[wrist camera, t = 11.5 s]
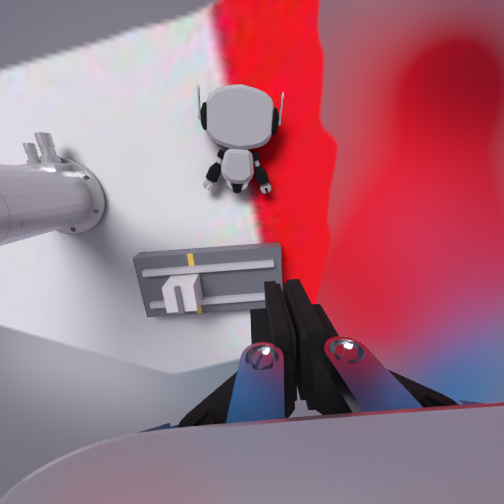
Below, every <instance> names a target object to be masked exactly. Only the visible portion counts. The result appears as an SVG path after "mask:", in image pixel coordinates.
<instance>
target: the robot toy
mask: <svg viewBox="0 0 504 504" xmlns="http://www.w3.org/2000/svg"><path fill="white" fill-rule="evenodd" d="M197 92H198V106H199V114H198V118H199V119H201V124H202V127H203V129H204V130H206V131H207V133H208V135H209V138H211V139H212V140H213V141H214V142H215V143H217V144H219V145H222V146H224V147H227V148H231V149H228V150H227V151H226V152H225V151H223V150H221V149H220V150H219V152H218V154H217V156H218V157H219V158H218V160H217V162H216V163H214V164H213V165H212V166H211V167H210V168H209V171H208V173H207V175H206V178H207V179H206V180H205V181H204V182H203V186H204V188H206V187H207V184H209V185H210V186H209V188H208V189H207V190H212V189H213V188H214V182H217V180H218V178H219V176H220V174H221V163H222V161H223V163H222V175H223V177H224V178H225V180H226V182H227V185H228V187H229V188H231V189H233V191H234V192H235V193H240V192H241V184H243V187H242V190H243V189H245V188H247V185H248V183H249V181H250V180H251V179H252V177H253V174H254V165H253V162H254V164H255V177H256V180H257V182H258V185H261V188H260V190H261V192H262V193H264V194H266V191H265V188H267V189H268V192H270V191H271V185H270V184H269V183H268V182H269V179H268V176H267V173H266V170H265V169H264V168H263V167H262V166H260V164H259V161H258V160H259V158H260V157H259V154H258V152H255V153H253V154H251V153H250V152H249V151H248V149H254V148H258V147H261V146H263V145H264V144H266V143H267V142H268V141H269V139H270V138H271V136H273V135H275V133H276V131H277V129H278V125H281V112H282V104H283V98H284V93H282V96H281V107H280V115H279V114H278V110H277V108H275V107H274V105H273V102H272V99H271V98H270V97H269V96H268V95H267V94H266V93H264V92H263V91H261V90H258V89H256V88H253V87H249V86H245V85H242V84H240V85H230V86H224V87H220V88H217V89H215V90H214V91H213V92H211V93H210V94H209V96H208V98H207V101H206V102H204V103H203V105H202V108H201V112H200V94H199V92H200V88H199V85H198V86H197ZM232 183H234V184H233V185H232Z"/></svg>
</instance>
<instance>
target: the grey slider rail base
mask: <svg viewBox="0 0 504 504" xmlns="http://www.w3.org/2000/svg"><path fill="white" fill-rule="evenodd" d="M133 261H134V265H135V269H136V273H137V277H138V281H139V285H140V290H141V294H142V298H143V302H144V306H145V310H146V314H147V317H155V316H168V315H181V314H179V312H174V313H167V311H166V306H165V301H164V297H163V292H162V287H163V285H164V284H165V283H166V281H167V280H168V279H169V277H170V276H171V275H180V274H193V273H199V276H200V282H201V289H202V295H203V296H202V299H201V302H200V305H199V307H198V310H197V311H187V312H185V313H184V314H194V313H197V314H198V313H207V312H220V311H233V310H246V309H259V308H265V293H264V282H265V281H275V282H276V284H277V283H280V285H281V288H282V261H281V246H280V244H279V242H274V243H261V244H247V245H234V246H221V247H208V248H195V249H181V250H168V251H155V252H142V253H139V254H138V255H136V256H135V257H133Z"/></svg>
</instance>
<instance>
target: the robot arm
mask: <svg viewBox="0 0 504 504" xmlns="http://www.w3.org/2000/svg"><path fill="white" fill-rule="evenodd" d="M34 134H35V137H36V141H37V144H38V147H40V151H41V154H42V156H41V157H40V160H39V157H38V154H37V153H38V152H37V149H36V146H35V144H33V143H23V146H24V149H25V152H26V153H27V156H28V159H29V160H27V164H25V165H1V164H0V246H2V245H5V244H9V243H12V242H16V241H19V240H23V239H26V238H30V237H33V236H37V235H40V234H44V233H48V232H51V231H55V230H56V231H59V232H63V233H70V234H75V233H81V232H84V231H87V230H89V229H91V228H93V227H94V226H95V225H97V223H98V222H99V221H100V220H101V218H102V216H103V213H104V209H105V199H104V193H103V191H102V188H101V186H100V184H99V182H98V180H97V179H96V178H95V176H94V175H93V174H92V173H91V172H90V171H89V170H88V169H87V168H86V167H84V166H83V165H81V164H80V163H78V162H76V161H74V160H71V159H67V158H63V157H60V156H57V155H56V152H55V149H54V147H55V146H54V143H53V140H52V136H51V134H49V133H34ZM98 211H99V212H98ZM264 293H265V308H260V309H250V313H251V340H252V345H250V346H248V347H247V348H246V349H245V350H244V351H243V352H242V355H241V358H240V362H239V367H238V371H237V372H236V373H235V374H234V375H233V376H231V377H230V378H229V379H228V380H227V381H226V382H224V383H223V384H222V385H221V386H220V387H218V388H217V389H216V390H215V391H214V392H213V393H211V394H210V395H209V396H208V397H207V398H206V399H204V400H203V401H202V402H201V403H200V404H199V405H197V406H196V407H195V408H194V409H193V410H192V411H190V412H189V413H188V414H187V415H186V416H185V417H184V418H183V419H182V420H181V421H180V423H179V425H175V426H172V427H171V425H170V423H167V424H164V425H161V426H158V427H154V428H151V429H148V430H145V431H141V432H138V433H133V434H128V435H123V436H119V437H115V438H110V439H107V440H103V441H100V442H97V443H94V444H91V445H88V446H85V447H82V448H80V449H78V450H76V451H73V452H71V453H69V454H67V455H64V456H62V457H60V458H57V459H56V460H54V461H52V462H50V463H48V464H46V465H44V466H43V467H41V468H39V469H38V470H36V471H34V472H33V473H31V474H30V475H28V476H27V477H25V478H24V479H23V480H21V481H20V482H19V483H17V484H16V485H15V486H14V487H12V488H11V489H10V490H9V491H8V492H7V493H6V494H5V495H4V496H3V497H2V498H0V504H504V402H500V403H479V402H470V401H463V400H460V401H459V404H457V403H456V402H455V401H453V400H452V399H450V398H448V397H447V396H445V395H443V394H441V393H438V392H436V391H434V390H432V389H429V388H427V387H425V386H423V385H420V384H418V383H416V382H414V381H412V380H409V379H407V378H405V377H403V376H401V375H399V374H397V373H394V372H392V371H390V370H388V369H387V368H385V366H384V365H383V364H382V363H381V362H380V361H379V360H378V359H377V358H376V357H375V355H374V354H373V353H372V352H371V351H370V350H369V349H368V348H367V347H366V346H365V345H364V344H362V343H361V342H359V341H358V340H355V339H353V338H350V337H344V336H338V334H337V332H336V330H335V329H334V327H333V325H332V324H331V322H330V320H329V318H328V317H327V315H326V313H325V312H324V310H323V308H322V307H321V305H320V304H312V303H311V302H310V300H309V298H308V296H307V294H306V292H305V290H304V288H303V286H302V284H301V282H300V280H299V279H291V280H287V283H283V291H282V288H281V285H280V283H277V284H276V282H275V281H265V282H264ZM297 387H298V391H299V396H300V399H301V400H306V403H307V406H308V410H317V411H318V412H320V413H321V414H322V415H319V416H306V417H294V418H289V416H290V415H291V414H292V412H293V411H294V410H295V401H296V400H297Z"/></svg>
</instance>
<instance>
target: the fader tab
mask: <svg viewBox="0 0 504 504" xmlns="http://www.w3.org/2000/svg"><path fill="white" fill-rule="evenodd" d="M162 292H163V297H164V301H165V306H166V311H167V313H174V312H179V314H184V313H185V312H187V311H197V310H198V307H199V305H200V302H201V299H202V296H203V295H202V289H201V282H200V276H199V273H193V274H180V275H171V276H170V277H169V279H168V280H167V281H166V283H165V284H164V285H163V287H162Z"/></svg>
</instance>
